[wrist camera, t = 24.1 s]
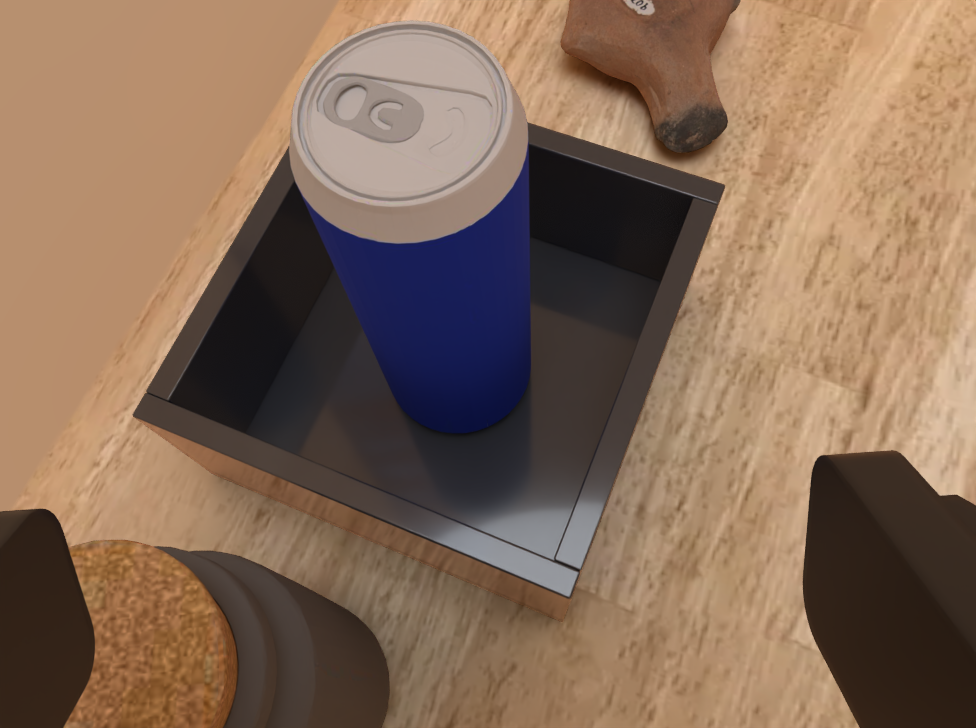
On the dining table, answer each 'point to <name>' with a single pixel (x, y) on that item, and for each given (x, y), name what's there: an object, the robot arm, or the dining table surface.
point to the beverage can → (424, 213)
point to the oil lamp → (657, 59)
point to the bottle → (219, 645)
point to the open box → (403, 441)
